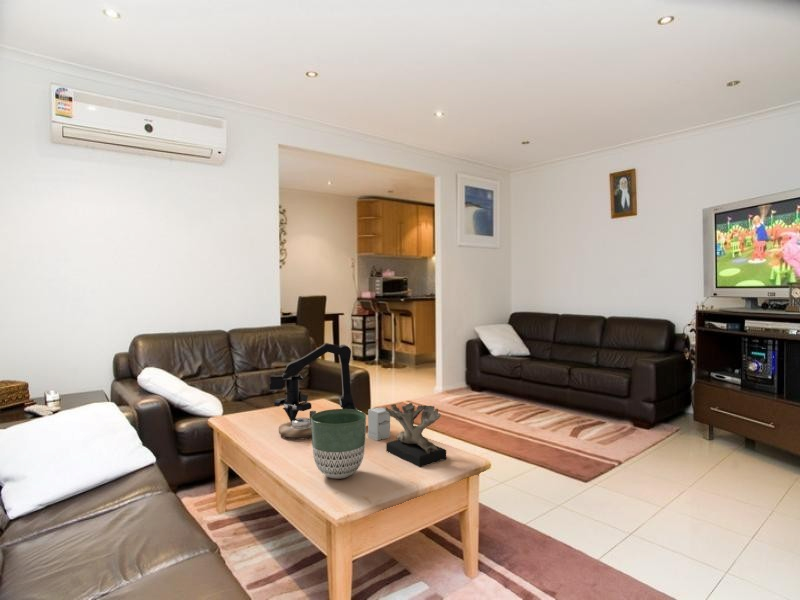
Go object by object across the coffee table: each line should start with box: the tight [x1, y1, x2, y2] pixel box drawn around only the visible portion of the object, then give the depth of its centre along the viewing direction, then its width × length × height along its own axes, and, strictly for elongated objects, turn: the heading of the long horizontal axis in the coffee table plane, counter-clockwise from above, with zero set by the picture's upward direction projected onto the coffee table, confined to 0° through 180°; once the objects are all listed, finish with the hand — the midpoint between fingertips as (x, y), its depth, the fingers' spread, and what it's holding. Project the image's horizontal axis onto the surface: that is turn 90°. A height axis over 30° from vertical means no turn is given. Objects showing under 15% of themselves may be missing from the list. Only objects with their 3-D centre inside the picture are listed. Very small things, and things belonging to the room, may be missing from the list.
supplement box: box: [367, 406, 391, 442], centre depth 203 cm, size 7×7×13 cm
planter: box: [311, 408, 367, 480], centre depth 161 cm, size 20×20×21 cm
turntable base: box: [283, 435, 312, 440], centre depth 209 cm, size 16×16×1 cm
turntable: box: [278, 410, 317, 437], centre depth 209 cm, size 20×20×7 cm
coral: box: [383, 402, 447, 468], centre depth 178 cm, size 25×20×21 cm
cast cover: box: [292, 417, 310, 429], centre depth 208 cm, size 8×8×3 cm
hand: (292, 422), depth 211 cm, fingers closed
